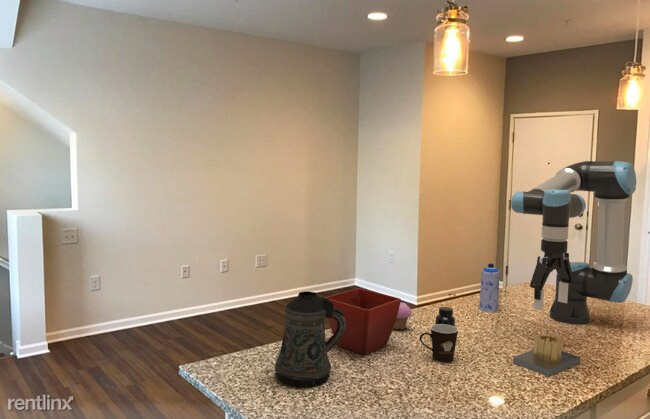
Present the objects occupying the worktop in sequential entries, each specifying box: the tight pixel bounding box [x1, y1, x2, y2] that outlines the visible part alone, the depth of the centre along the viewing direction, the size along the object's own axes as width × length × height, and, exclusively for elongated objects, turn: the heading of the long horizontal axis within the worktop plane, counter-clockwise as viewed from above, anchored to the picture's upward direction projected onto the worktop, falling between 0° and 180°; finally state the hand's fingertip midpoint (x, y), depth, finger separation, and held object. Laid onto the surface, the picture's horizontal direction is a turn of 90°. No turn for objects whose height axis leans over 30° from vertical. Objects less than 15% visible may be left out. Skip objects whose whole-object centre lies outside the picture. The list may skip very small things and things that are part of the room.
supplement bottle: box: [434, 306, 456, 327], centre depth 180 cm, size 7×7×12 cm
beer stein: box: [274, 291, 346, 389], centre depth 150 cm, size 16×19×25 cm
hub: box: [533, 333, 563, 362], centre depth 162 cm, size 8×8×6 cm
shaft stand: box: [512, 349, 581, 377], centre depth 162 cm, size 18×12×6 cm, turn 125°
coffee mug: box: [419, 324, 459, 363], centre depth 165 cm, size 12×9×10 cm
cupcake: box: [393, 302, 412, 331], centre depth 193 cm, size 9×9×10 cm
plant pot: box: [324, 288, 402, 355], centre depth 174 cm, size 19×19×17 cm
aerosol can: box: [478, 263, 501, 313], centre depth 219 cm, size 8×8×20 cm
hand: (550, 305), depth 161 cm, fingers open, 13 cm apart
